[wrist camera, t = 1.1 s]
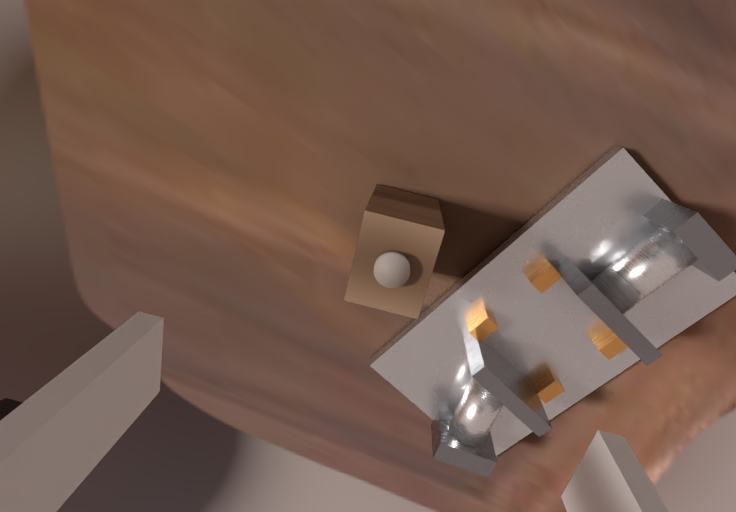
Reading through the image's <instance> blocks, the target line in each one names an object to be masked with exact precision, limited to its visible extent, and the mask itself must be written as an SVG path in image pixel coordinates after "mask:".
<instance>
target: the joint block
mask: <svg viewBox="0 0 736 512" xmlns="http://www.w3.org/2000/svg"><path fill="white" fill-rule="evenodd" d="M444 233H445V228H444V223H443V219H442V214H441V210H440V206H439V201H438V199H435V198H431V197H427V196H423V195H419V194H415V193H411V192H407V191H403V190H399V189H395V188H391V187H387V186H382V185H378V184H377V185H376V187H375V190H374V192H373V194H372V196H371V198H370V201H369V203H368V205H367V207H366V209H365V212H364V217H363V221H362V225H361V230H360V234H359V238H358V242H357V247H356V251H355V255H354V260H353V264H352V268H351V272H350V277H349V281H348V285H347V290H346V294H345V298H344V300H345V301H349V302H352V303H356V304H360V305H364V306H368V307H372V308H376V309H380V310H384V311H388V312H392V313H396V314H400V315H403V316H407V317H411V318H415V319H418V317H419V314H420V311H421V307H422V304H423V301H424V298H425V294H426V291H427V288H428V285H429V281H430V278H431V275H432V272H433V268H434V265H435V262H436V259H437V255H438V252H439V249H440V246H441V242H442V239H443V236H444Z"/></svg>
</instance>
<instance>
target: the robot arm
mask: <svg viewBox="0 0 736 512" xmlns="http://www.w3.org/2000/svg"><path fill="white" fill-rule="evenodd" d="M163 323H164V318H162V317H158V316H154V315H150V314H146V313H143V312H138V313H136V314H135V315H134V316H133V317H131V318H130V319H129V320H128V321H126V322H125V323H124V324H122V325H121V326H120V327H119V328H117V329H116V330H115V331H114V332H112V333H111V334H110V335H108V336H107V337H106V338H105V339H104V340H102V341H101V342H100V343H98V344H97V345H96V346H95V347H93V348H92V349H91V350H89V351H88V352H87V353H86V354H84V355H83V356H82V357H81V358H79V359H78V360H77V361H75V362H74V363H73V364H72V365H70V366H69V367H68V368H67V369H65V370H64V371H63V372H61V373H60V374H59V375H58V376H56V377H55V378H54V379H53V380H51V381H50V382H49V383H48V384H46V385H45V386H44V387H43V388H41V389H40V390H39V391H38V392H36V393H35V394H34V395H33V396H31V397H30V398H28V399H27V400H26V401H25V402H19V401H15V400H11V399H7V398H5V399H3V400H1V401H0V512H56V511H57V510H58V509H59V508H60V507H61V505H62V504H63V503H64V502H65V501H66V500H67V498H68V497H69V496H70V495H71V494H72V493H73V491H74V490H75V489H76V488H77V487H78V486H79V484H80V483H81V482H82V481H83V480H84V479H85V477H86V476H87V475H88V474H89V473H90V472H91V470H92V469H93V468H94V467H95V466H96V465H97V464H98V462H99V461H100V460H101V459H102V458H103V456H104V455H105V454H106V453H107V452H108V451H109V450H110V448H111V447H112V446H113V445H114V444H115V442H116V441H117V440H118V439H119V438H120V437H121V436H122V435H123V433H124V432H125V431H126V430H127V429H128V427H129V426H130V425H131V424H132V423H133V422H134V421H135V419H136V418H137V417H138V416H139V415H140V414H141V412H142V411H143V410H144V409H145V408H146V407H147V405H148V404H149V403H150V402H151V401H152V400H153V398H154V397H155V396H156V395H157V394H158V393H159V391H160V375H161V358H162V340H163ZM561 497H562V500H563V502H564V505H565V508H566V511H567V512H669V511H668V509H667V507H666V506H665V504H664V502H663V501H662V499H661V497H660V496H659V494H658V492H657V491H656V489H655V487H654V486H653V484H652V482H651V481H650V479H649V477H648V476H647V474H646V472H645V471H644V469H643V467H642V466H641V464H640V463H639V461H638V459H637V458H636V456H635V454H634V453H633V451H632V449H631V448H630V446H629V444H628V443H627V441H626V439H625V438H624V437H623V436H619V435H615V434H611V433H607V432H604V431H600V430H598V431H597V433H596V435H595V437H594V439H593V440H592V442H591V444H590V446H589V448H588V449H587V451H586V453H585V455H584V457H583V458H582V460H581V462H580V464H579V466H578V467H577V469H576V471H575V473H574V475H573V476H572V478H571V480H570V482H569V484H568V485H567V487H566V489H565V491H564V493H563V494H562V496H561Z"/></svg>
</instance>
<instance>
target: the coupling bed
mask: <svg viewBox="0 0 736 512" xmlns="http://www.w3.org/2000/svg"><path fill="white" fill-rule="evenodd" d="M735 270H736V255H735V254H734V253H733V252H732V250H731V249H730V248H729V247H728V246H727V245H726V244H725V243H724V241H723V240H722V239H721V238H720V237H719V236H718V235H717V234H716V232H715V231H714V230H713V229H712V228H711V227H710V226H709V224H708V223H707V222H706V221H705V220H704V219H703V218H702V217H701V215H700V214H699V213H698V212H696V211H693V210H691V209H688V208H685V207H683V206H680V205H678V204H675V203H673V202H671V200H670V199H669V198H668V197H667V196H666V195H665V194H664V193H663V191H662V190H661V189H660V188H659V187H658V186H657V185H656V184H655V183H654V181H653V180H652V179H651V178H650V177H649V176H648V175H647V174H646V172H645V171H644V170H643V169H642V168H641V167H640V166H639V165H638V163H637V162H636V161H635V160H634V159H633V158H632V157H631V156H630V155H629V153H628V152H627V151H626V150H625V149H624V148H623V147H619V146H615V147H614V148H612V149H611V150H610V151H609V152H608V153H607V154H605V155H604V156H603V157H602V158H601V159H600V160H599V161H597V162H596V163H595V164H594V165H593V166H592V167H590V168H589V169H588V170H587V171H586V172H585V173H584V174H582V175H581V176H580V177H579V178H578V179H577V180H576V181H574V182H573V183H572V184H571V185H570V186H569V187H567V188H566V189H565V190H564V191H563V192H562V193H561V194H559V195H558V196H557V197H556V198H555V199H554V200H552V201H551V202H550V203H549V204H548V205H547V206H546V207H544V208H543V209H542V210H541V211H540V212H539V213H537V214H536V215H535V216H534V217H533V218H532V219H531V220H529V221H528V222H527V223H526V224H525V225H524V226H522V227H521V228H520V229H519V230H518V231H517V232H516V233H514V234H513V235H512V236H511V237H510V238H509V239H507V240H506V241H505V242H504V243H503V244H502V245H501V246H499V247H498V248H497V249H496V250H495V251H494V252H492V253H491V254H490V255H489V256H488V257H487V258H486V259H484V260H483V261H482V262H481V263H480V264H479V265H478V266H476V267H475V268H474V269H473V270H472V271H471V272H469V273H468V274H467V275H466V276H465V277H464V278H463V279H461V280H460V281H459V282H458V283H457V284H456V285H454V286H453V287H452V288H451V289H450V290H449V291H448V292H446V293H445V294H444V295H443V296H442V297H441V298H439V299H438V300H437V301H436V302H435V303H434V304H433V305H431V306H430V307H429V308H428V309H427V310H426V311H424V312H423V313H422V314H421V315H420V316H419V317H418V319H415V320H414V321H413V322H412V323H411V324H409V325H408V326H407V327H406V328H405V329H404V330H403V331H401V332H400V333H399V334H398V335H397V336H396V337H395V338H393V339H392V340H391V341H390V342H389V343H388V344H386V345H385V346H384V347H383V348H382V349H381V350H380V351H378V352H377V353H376V354H375V355H374V356H373V357H371V362H370V366H371V367H372V368H373V369H374V370H376V371H377V372H378V373H379V374H380V375H381V376H383V377H384V378H385V379H386V380H387V381H388V382H390V383H391V384H392V385H393V386H394V387H395V388H397V389H398V390H399V391H400V392H401V393H402V394H404V395H405V396H406V397H407V398H408V399H409V400H410V401H412V402H413V403H414V404H415V405H416V406H417V407H419V408H420V409H421V410H422V411H423V412H424V413H426V414H427V415H428V416H429V417H430V418H431V419H433V420H434V419H435V416H436V414H437V412H438V411H440V412H443V413H446V414H449V415H452V416H453V414H454V412H455V410H456V408H457V406H458V404H459V402H460V400H461V398H462V396H463V394H464V392H465V390H466V388H467V386H468V384H469V382H470V380H471V378H472V377H473V378H474V379H475V380H476V381H477V382H478V383H479V384H481V385H482V386H483V387H484V388H485V389H486V390H487V391H488V392H489V393H491V394H492V395H493V396H494V397H495V398H496V399H497V400H498V401H499V402H501V403H502V404H503V405H504V406H503V407H502V409H501V411H500V413H499V415H498V417H497V418H496V420H495V422H494V424H493V426H492V427H491V429H490V432H491V437H492V441H493V445H494V450H495V454H496V456H497V455H499V454H500V453H502V452H503V451H505V450H506V449H508V448H509V447H511V446H512V445H514V444H515V443H517V442H518V441H520V440H521V439H523V438H524V437H525V436H527V435H528V434H530V433H531V432H534V433H535V434H536V435H537V436H538V437H540V436H542V435H543V434H545V433H546V432H548V431H549V430H551V429H552V426H551V424H550V422H549V420H551V419H552V418H554V417H555V416H557V415H558V414H560V413H561V412H563V411H564V410H566V409H567V408H569V407H570V406H572V405H573V404H575V403H576V402H578V401H579V400H581V399H582V398H584V397H585V396H587V395H588V394H590V393H591V392H592V391H594V390H595V389H597V388H598V387H600V386H601V385H603V384H604V383H606V382H607V381H609V380H610V379H612V378H613V377H615V376H616V375H618V374H619V373H621V372H622V371H624V370H625V369H627V368H628V367H630V366H631V365H633V364H634V363H636V362H637V361H639V360H640V359H641V360H642V361H643V362H644V363H645V364H646V365H649V364H650V363H652V362H653V361H655V360H656V359H658V358H659V357H661V356H662V354H661V353H660V352H659V351H658V350H657V348H658V347H660V346H661V345H662V344H664V343H665V342H667V341H668V340H670V339H671V338H673V337H674V336H676V335H677V334H679V333H680V332H682V331H683V330H685V329H686V328H688V327H689V326H691V325H692V324H694V323H695V322H697V321H698V320H700V319H701V318H703V317H704V316H706V315H707V314H709V313H710V312H712V311H713V310H715V309H716V308H718V307H719V306H721V305H722V304H724V303H725V302H727V301H728V300H729V299H731V298H732V297H734V296H735V295H736V273H735V272H734V271H735Z"/></svg>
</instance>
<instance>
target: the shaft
mask: <svg viewBox="0 0 736 512" xmlns="http://www.w3.org/2000/svg"><path fill="white" fill-rule="evenodd" d="M503 406H504V405H503V404H502V403H501V402H499V401H498V400H497V399H496V398H495V397H494V396H493V395H492V394H491V393H489V392H488V391H487V390H486V389H485V388H484V387H483V386H482V385H481V384H479V383H478V382H477V381H476V380H475V379H474V378H473V377H472V378H471V380H470V382H469V384H468V386H467V388H466V390H465V392H464V394H463V396H462V398H461V400H460V402H459V404H458V406H457V408H456V410H455V412H454V414H453V416H452V415H449V414H446V413H443V412H440V411H438V412H437V414H436V416H435V419H434V421H433V423H432V425H431V429H432V449H433V459H436V460H439V461H442V462H445V463H448V464H451V465H454V466H457V467H460V468H462V469H465V470H468V471H471V472H474V473H477V474H480V475H483V476H486V477H489V476H490V474H491V473H492V471H493V469H494V468H495V466H496V464H497V459H496V454H495V450H494V445H493V441H492V437H491V432H490V429H491V427H492V426H493V424H494V422H495V420H496V418H497V417H498V415H499V413H500V411H501V409H502V407H503Z"/></svg>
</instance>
